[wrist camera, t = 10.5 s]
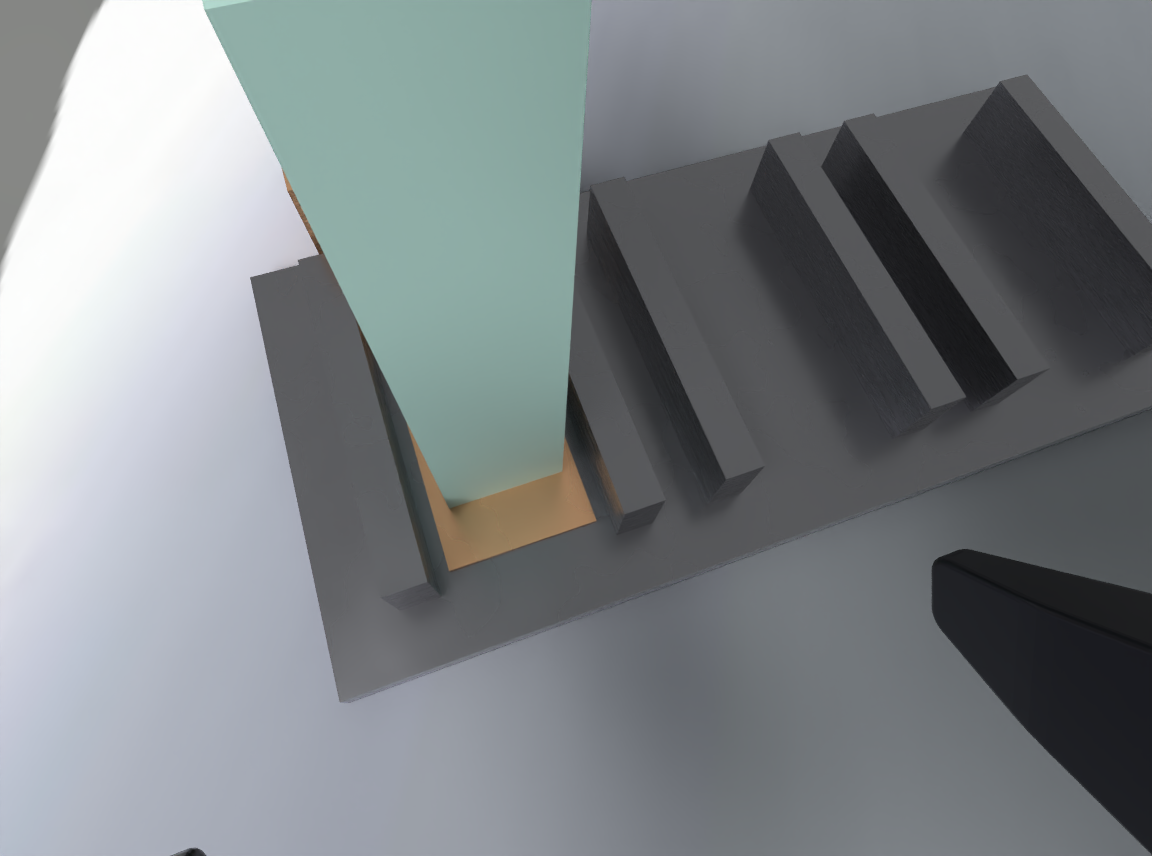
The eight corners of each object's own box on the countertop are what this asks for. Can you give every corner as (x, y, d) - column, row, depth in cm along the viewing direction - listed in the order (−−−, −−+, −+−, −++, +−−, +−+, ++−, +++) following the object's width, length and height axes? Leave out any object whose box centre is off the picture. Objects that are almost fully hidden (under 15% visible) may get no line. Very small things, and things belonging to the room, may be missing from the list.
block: (504, 313, 19) (429, -359, 7) (562, 471, 17) (594, -64, 5) (399, 342, 19) (130, -325, 7) (449, 508, 17) (205, 9, 5)
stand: (1215, 385, 20) (1403, 294, 16) (349, 702, 16) (272, 700, 11) (992, 102, 24) (1091, -32, 20) (261, 293, 20) (179, 175, 16)
